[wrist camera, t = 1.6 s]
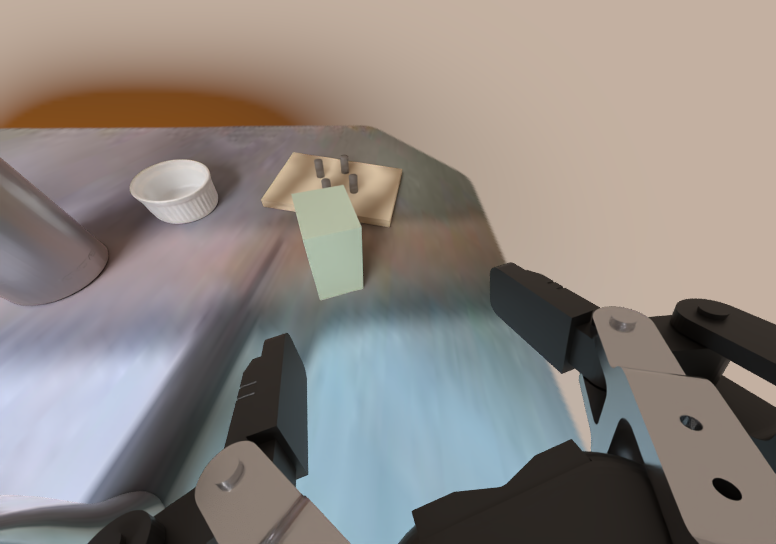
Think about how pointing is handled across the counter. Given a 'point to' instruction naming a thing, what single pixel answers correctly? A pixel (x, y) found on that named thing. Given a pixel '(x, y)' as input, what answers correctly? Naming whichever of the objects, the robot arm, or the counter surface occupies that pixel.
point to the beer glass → (65, 517)
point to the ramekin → (176, 190)
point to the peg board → (361, 181)
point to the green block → (331, 239)
